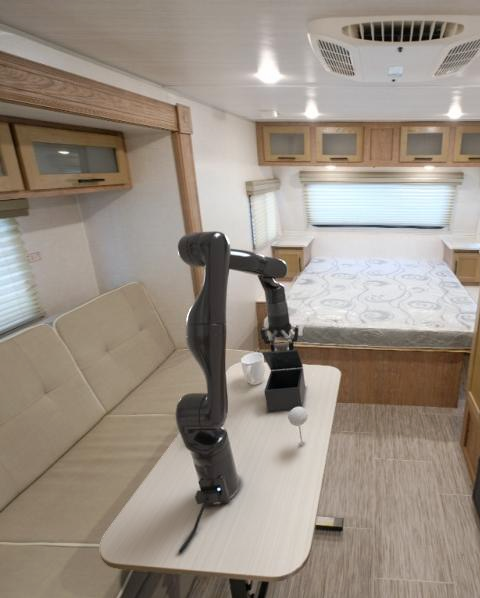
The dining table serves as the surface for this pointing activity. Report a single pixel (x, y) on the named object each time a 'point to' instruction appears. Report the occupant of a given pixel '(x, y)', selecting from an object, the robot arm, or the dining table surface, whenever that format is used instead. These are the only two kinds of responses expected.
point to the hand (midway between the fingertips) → (283, 351)
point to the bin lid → (283, 358)
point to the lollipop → (298, 418)
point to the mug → (253, 367)
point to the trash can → (285, 389)
